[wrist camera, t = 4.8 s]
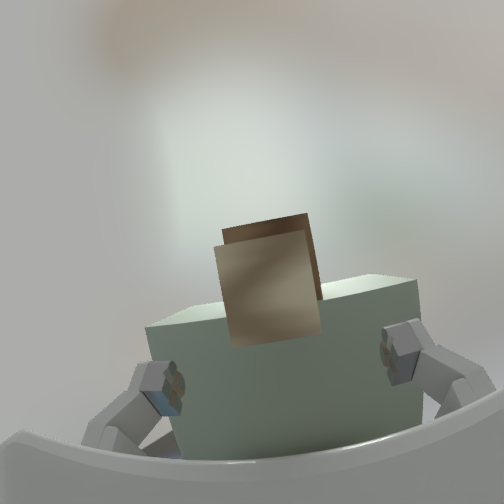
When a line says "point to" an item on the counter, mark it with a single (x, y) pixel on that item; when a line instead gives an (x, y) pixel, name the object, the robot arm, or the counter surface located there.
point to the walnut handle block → (269, 281)
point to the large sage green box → (291, 377)
